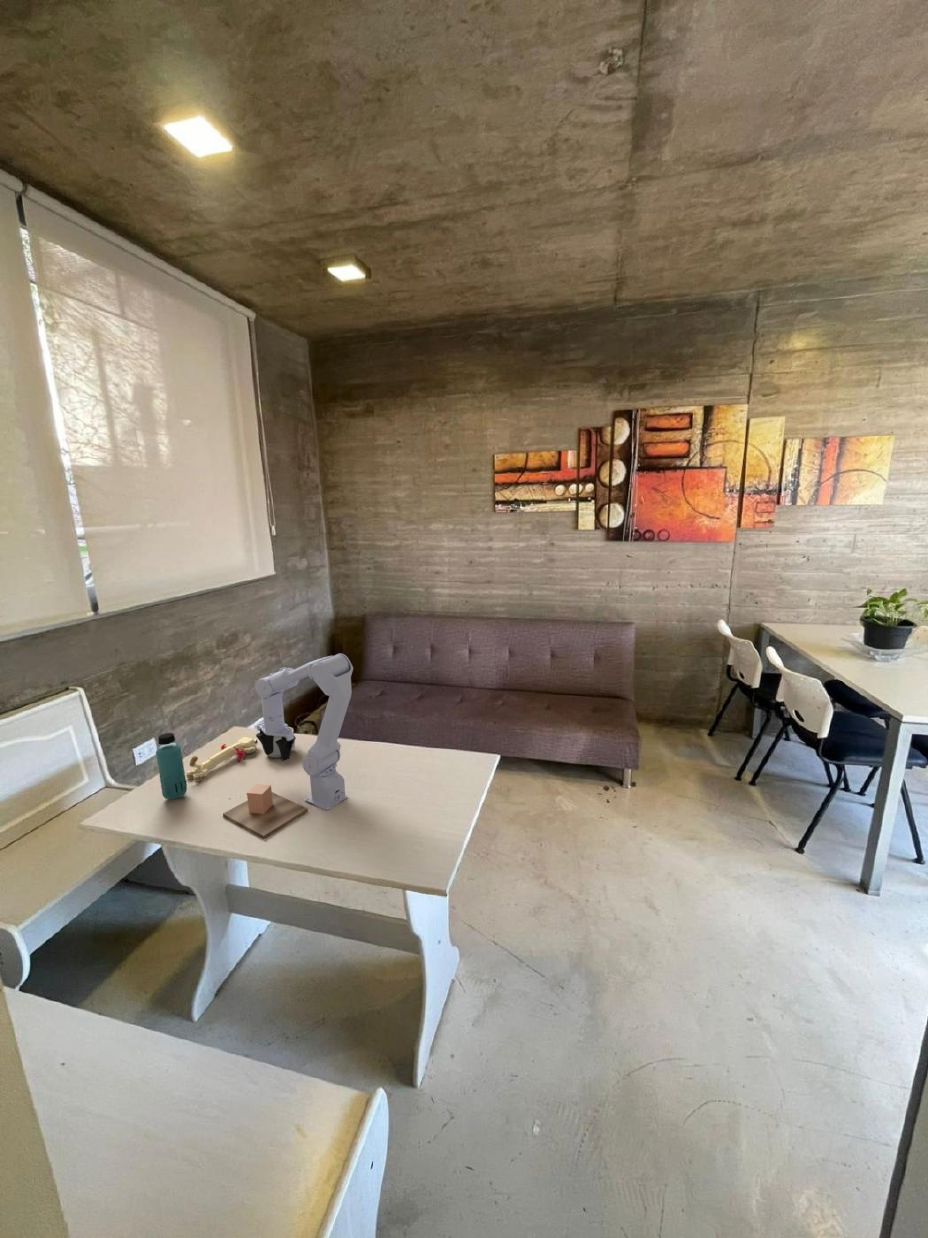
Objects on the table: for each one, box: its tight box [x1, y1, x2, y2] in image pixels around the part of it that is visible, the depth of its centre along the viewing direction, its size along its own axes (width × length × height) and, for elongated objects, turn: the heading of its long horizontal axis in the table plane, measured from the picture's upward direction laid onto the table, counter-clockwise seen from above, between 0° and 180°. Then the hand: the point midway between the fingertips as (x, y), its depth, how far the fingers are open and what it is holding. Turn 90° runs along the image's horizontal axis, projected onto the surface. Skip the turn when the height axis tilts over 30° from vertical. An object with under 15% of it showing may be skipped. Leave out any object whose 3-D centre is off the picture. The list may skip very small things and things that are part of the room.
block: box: [246, 783, 273, 814], centre depth 136 cm, size 4×4×6 cm
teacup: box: [261, 726, 296, 759], centre depth 171 cm, size 14×11×8 cm
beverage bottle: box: [155, 732, 188, 800], centre depth 142 cm, size 6×7×20 cm
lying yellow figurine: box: [185, 736, 259, 783], centre depth 163 cm, size 10×9×25 cm
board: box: [222, 791, 309, 840], centre depth 135 cm, size 18×14×1 cm
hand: (277, 756), depth 148 cm, fingers open, 7 cm apart
